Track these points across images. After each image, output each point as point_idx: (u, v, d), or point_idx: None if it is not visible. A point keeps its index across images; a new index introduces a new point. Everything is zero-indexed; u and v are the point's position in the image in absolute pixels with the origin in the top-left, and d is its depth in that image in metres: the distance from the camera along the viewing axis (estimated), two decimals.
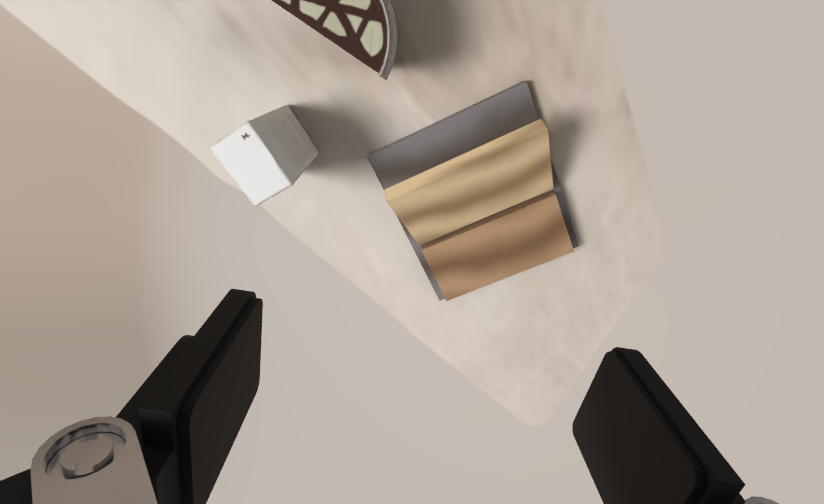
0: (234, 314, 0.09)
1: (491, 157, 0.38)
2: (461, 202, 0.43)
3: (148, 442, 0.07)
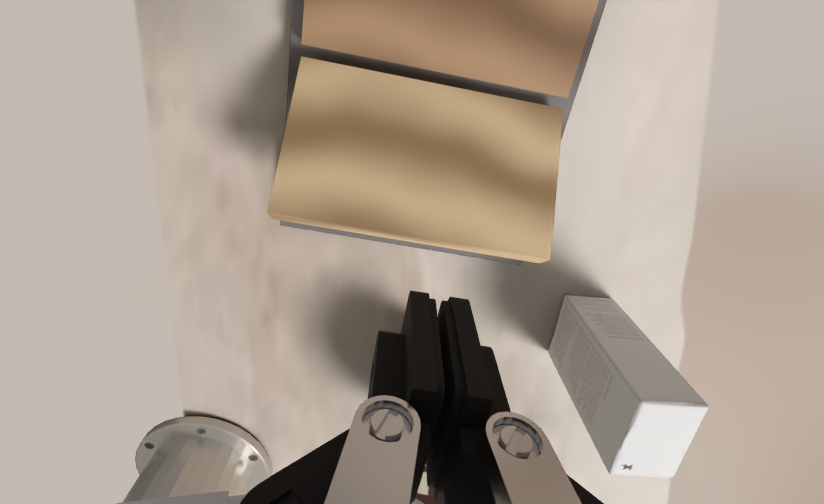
0: (427, 312, 0.10)
1: (367, 222, 0.23)
2: (451, 157, 0.24)
3: None
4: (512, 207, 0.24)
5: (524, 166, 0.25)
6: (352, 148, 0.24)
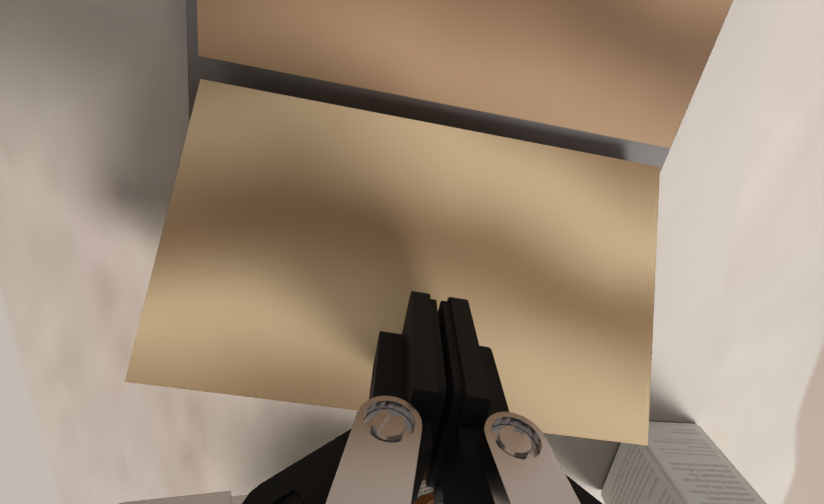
0: (428, 312, 0.10)
1: (317, 391, 0.12)
2: (470, 260, 0.14)
3: None
4: (579, 350, 0.14)
5: (597, 272, 0.14)
6: (291, 249, 0.13)
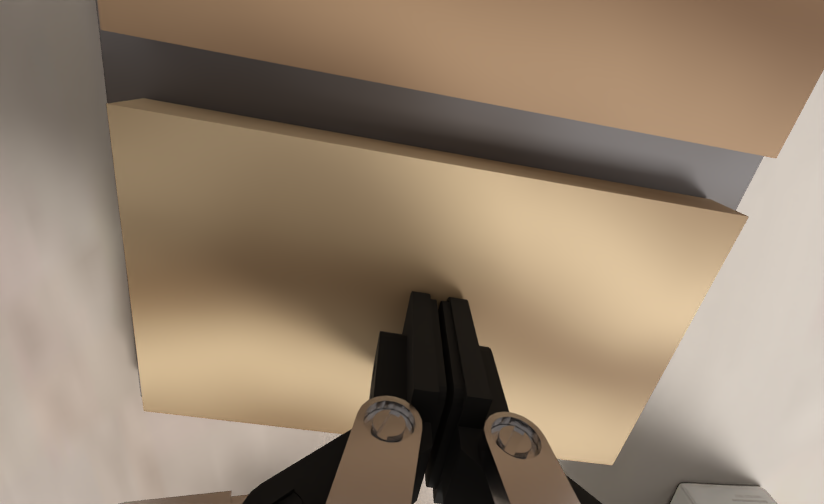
0: (429, 313, 0.10)
1: (313, 422, 0.14)
2: None
3: None
4: (569, 400, 0.13)
5: (613, 336, 0.12)
6: (270, 311, 0.12)
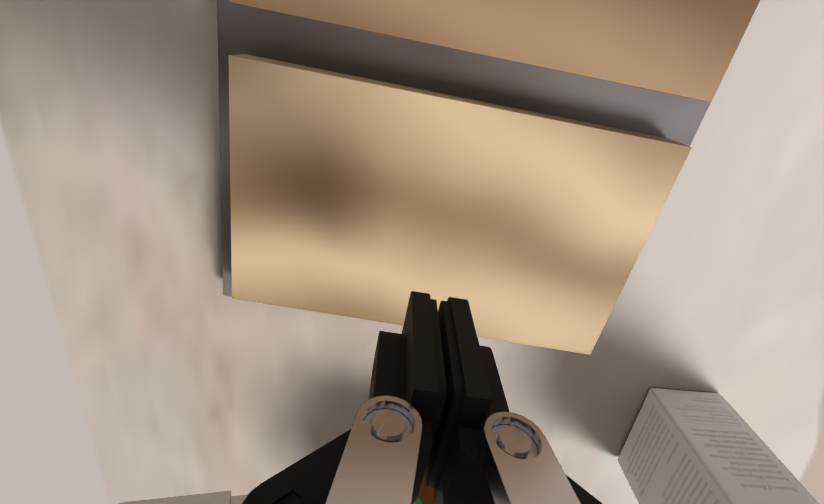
0: (428, 313, 0.10)
1: (358, 310, 0.18)
2: (480, 230, 0.16)
3: None
4: (556, 296, 0.17)
5: (590, 243, 0.16)
6: (332, 217, 0.16)
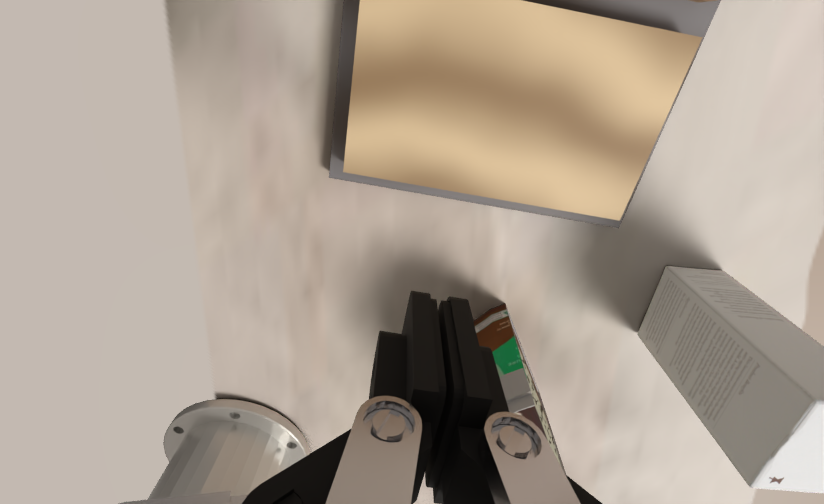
0: (428, 313, 0.10)
1: (440, 182, 0.23)
2: (538, 110, 0.21)
3: None
4: (595, 168, 0.22)
5: (623, 120, 0.21)
6: (427, 100, 0.21)
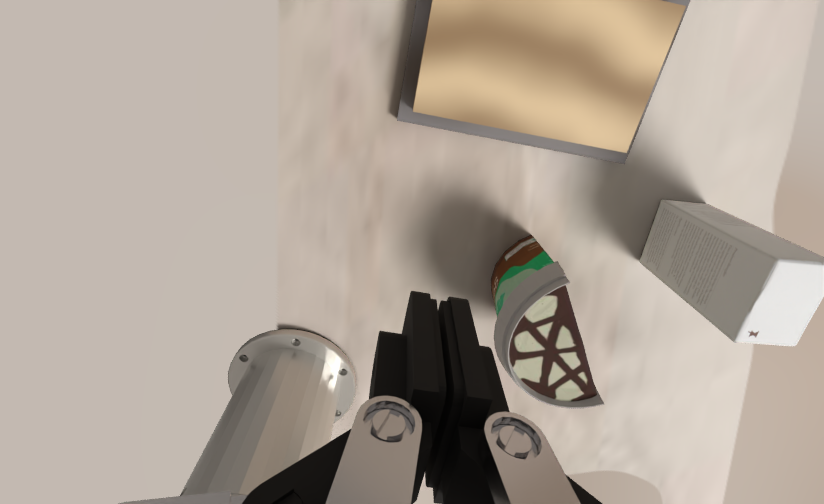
0: (428, 313, 0.10)
1: (488, 120, 0.29)
2: (566, 61, 0.28)
3: None
4: (608, 108, 0.29)
5: (629, 69, 0.28)
6: (482, 53, 0.28)
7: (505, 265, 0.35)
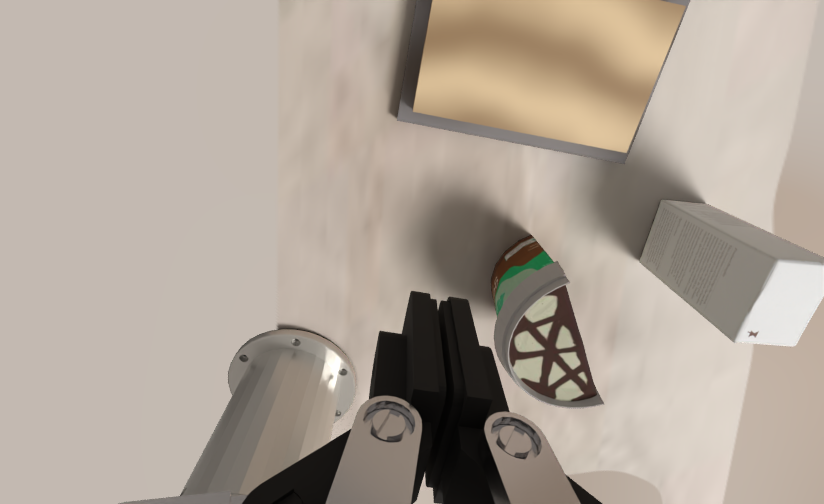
0: (428, 313, 0.10)
1: (488, 120, 0.29)
2: (566, 61, 0.28)
3: None
4: (608, 108, 0.29)
5: (629, 70, 0.28)
6: (482, 53, 0.28)
7: (505, 265, 0.35)
